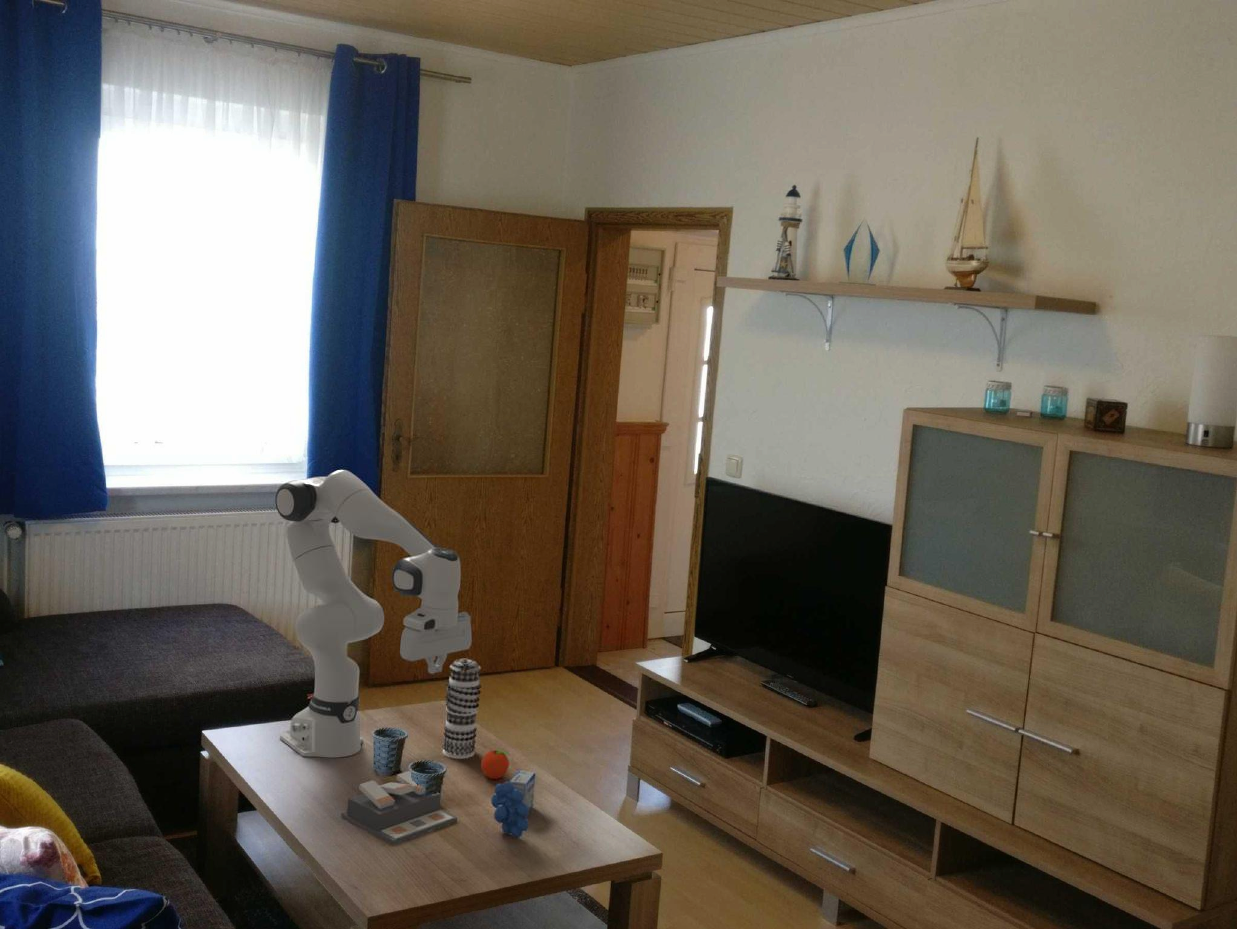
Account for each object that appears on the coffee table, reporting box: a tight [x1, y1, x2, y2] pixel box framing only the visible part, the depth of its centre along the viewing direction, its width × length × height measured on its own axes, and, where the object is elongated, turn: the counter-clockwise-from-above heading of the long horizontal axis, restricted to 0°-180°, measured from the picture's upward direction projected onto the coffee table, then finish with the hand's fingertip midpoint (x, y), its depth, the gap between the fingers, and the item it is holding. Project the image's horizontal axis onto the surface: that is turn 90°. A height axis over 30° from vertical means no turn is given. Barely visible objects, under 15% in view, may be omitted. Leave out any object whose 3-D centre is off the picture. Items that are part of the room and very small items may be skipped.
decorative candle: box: [442, 658, 482, 760], centre depth 319 cm, size 9×9×25 cm
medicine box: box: [509, 769, 536, 812], centre depth 287 cm, size 8×4×9 cm, turn 168°
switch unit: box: [340, 781, 458, 846], centre depth 277 cm, size 18×19×5 cm
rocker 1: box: [358, 779, 395, 809], centre depth 273 cm, size 8×4×1 cm, turn 51°
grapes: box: [490, 780, 530, 839], centre depth 273 cm, size 12×7×12 cm, turn 49°
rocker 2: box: [379, 782, 414, 795], centre depth 277 cm, size 8×4×1 cm, turn 51°
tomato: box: [481, 749, 513, 780], centre depth 306 cm, size 8×7×7 cm
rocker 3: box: [395, 770, 426, 795], centre depth 282 cm, size 8×4×1 cm, turn 51°
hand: (434, 672), depth 293 cm, fingers closed
